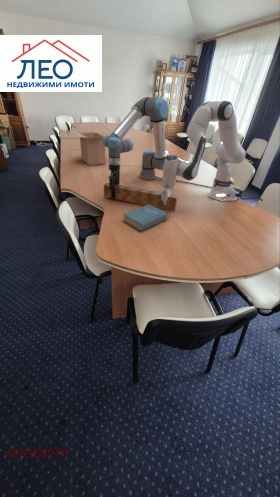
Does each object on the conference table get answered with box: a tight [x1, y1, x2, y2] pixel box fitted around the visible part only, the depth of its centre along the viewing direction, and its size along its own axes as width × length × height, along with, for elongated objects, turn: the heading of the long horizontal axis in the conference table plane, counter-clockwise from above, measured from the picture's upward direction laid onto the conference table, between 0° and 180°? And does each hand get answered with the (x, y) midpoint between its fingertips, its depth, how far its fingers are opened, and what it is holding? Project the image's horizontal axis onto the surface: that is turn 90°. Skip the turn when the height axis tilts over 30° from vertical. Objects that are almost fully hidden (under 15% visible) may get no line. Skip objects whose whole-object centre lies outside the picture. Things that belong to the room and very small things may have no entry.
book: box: [122, 204, 168, 232], centre depth 138 cm, size 23×16×5 cm
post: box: [103, 182, 179, 211], centre depth 155 cm, size 52×5×9 cm, turn 72°
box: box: [70, 129, 111, 166], centre depth 229 cm, size 44×36×27 cm
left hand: (114, 196), depth 161 cm, fingers closed on post, 5 cm apart
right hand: (165, 202), depth 151 cm, fingers closed on post, 5 cm apart
